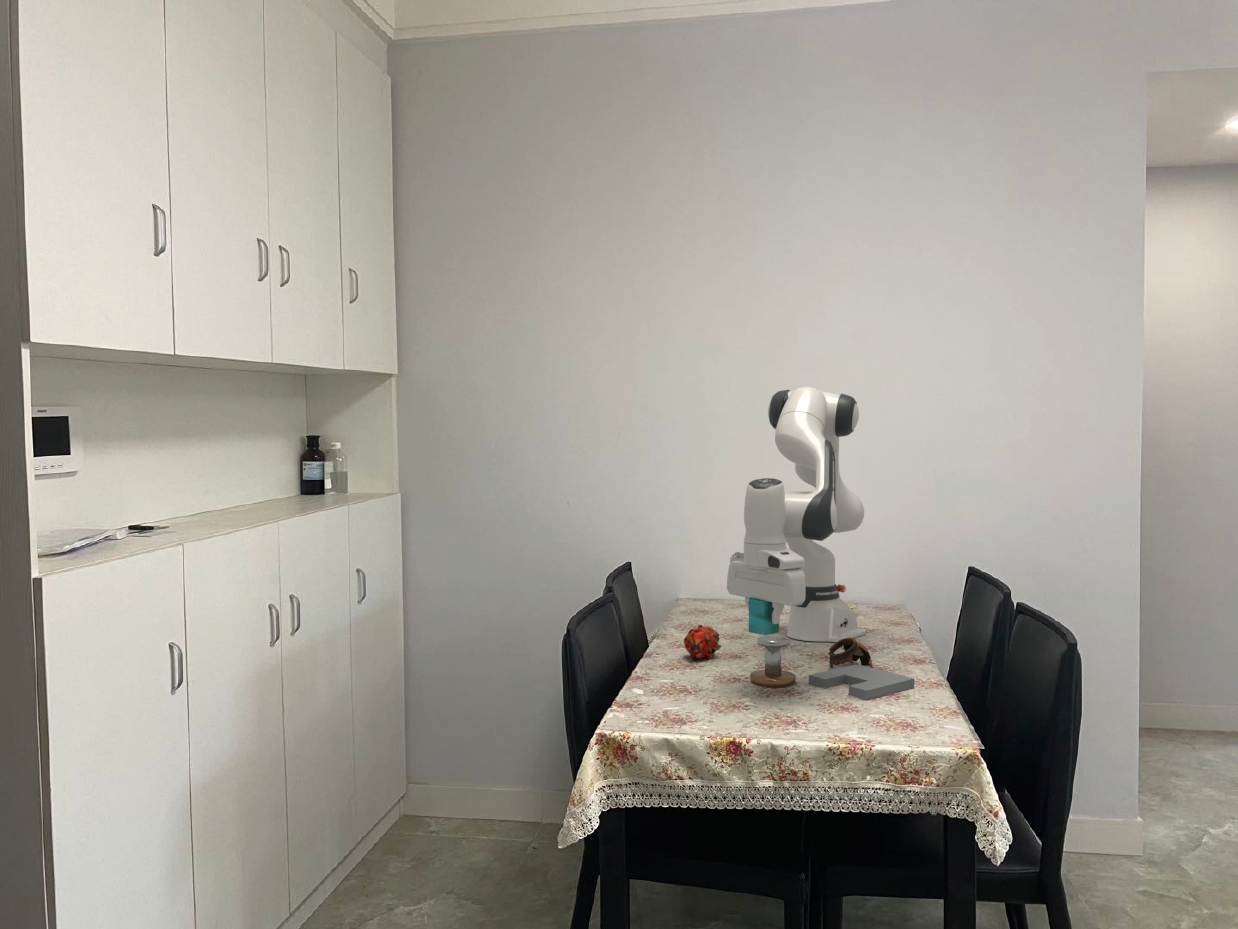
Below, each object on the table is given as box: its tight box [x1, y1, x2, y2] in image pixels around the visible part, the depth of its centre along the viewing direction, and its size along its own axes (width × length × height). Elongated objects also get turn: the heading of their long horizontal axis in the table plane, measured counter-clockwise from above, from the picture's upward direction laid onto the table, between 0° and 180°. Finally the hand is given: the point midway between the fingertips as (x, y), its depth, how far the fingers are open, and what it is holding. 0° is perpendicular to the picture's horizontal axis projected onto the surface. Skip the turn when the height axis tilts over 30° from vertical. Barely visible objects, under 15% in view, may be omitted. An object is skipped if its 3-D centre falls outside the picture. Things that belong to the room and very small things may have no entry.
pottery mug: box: [828, 638, 874, 669], centre depth 235 cm, size 12×10×8 cm
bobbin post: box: [749, 635, 797, 689], centre depth 222 cm, size 10×10×10 cm
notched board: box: [808, 663, 915, 701], centre depth 219 cm, size 16×16×2 cm
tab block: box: [748, 598, 780, 636], centre depth 211 cm, size 4×4×7 cm
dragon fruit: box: [683, 624, 722, 661], centre depth 245 cm, size 8×8×12 cm
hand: (764, 621), depth 211 cm, fingers closed on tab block, 4 cm apart
